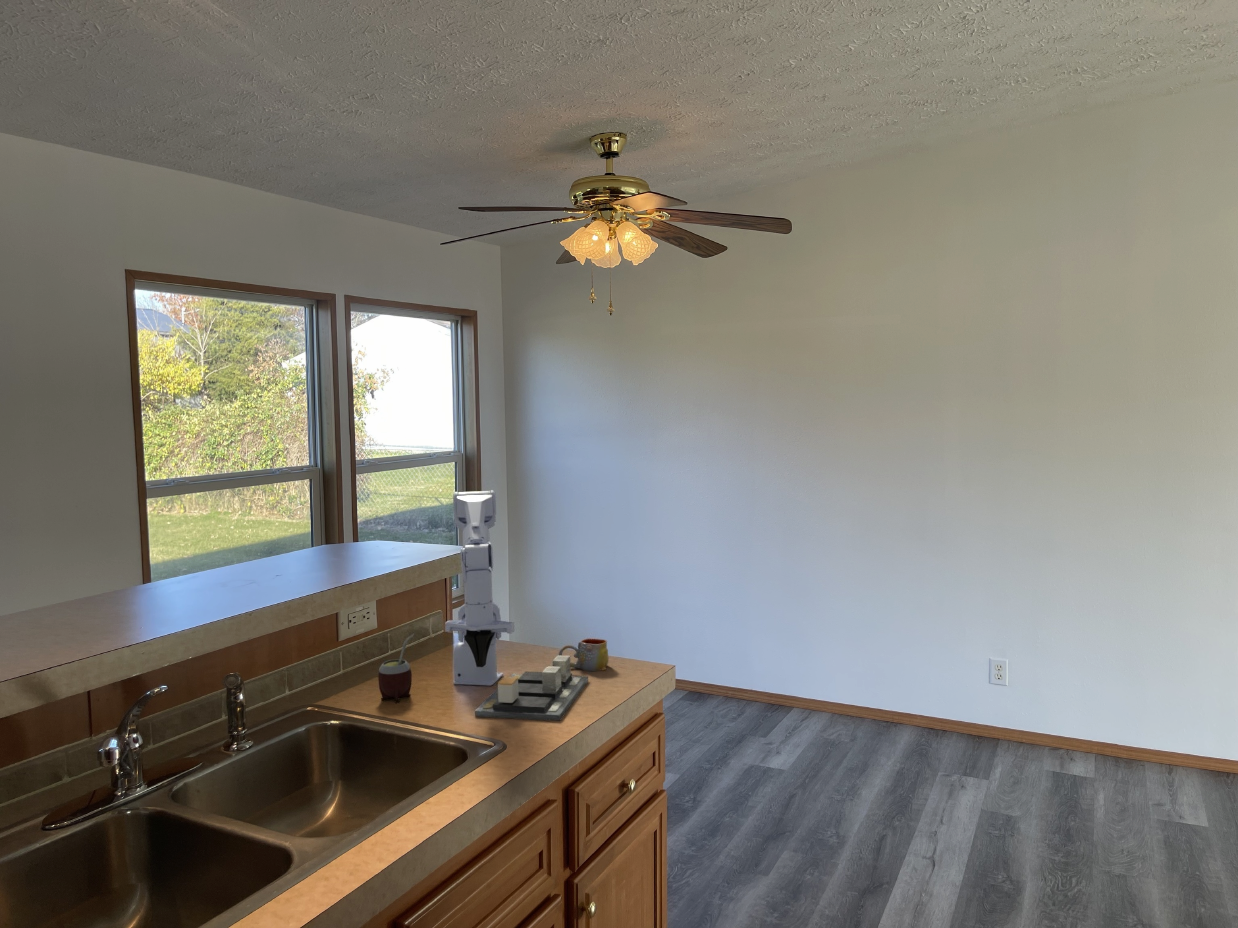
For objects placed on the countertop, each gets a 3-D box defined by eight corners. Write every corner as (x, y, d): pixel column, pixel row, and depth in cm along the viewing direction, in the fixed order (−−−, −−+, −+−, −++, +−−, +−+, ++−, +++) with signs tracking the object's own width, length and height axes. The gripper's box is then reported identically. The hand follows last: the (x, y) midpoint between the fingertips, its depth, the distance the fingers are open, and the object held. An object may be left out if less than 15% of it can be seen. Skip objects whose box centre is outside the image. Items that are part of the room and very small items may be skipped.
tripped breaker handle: (498, 702, 171) (497, 683, 170) (504, 695, 175) (504, 676, 174) (512, 702, 170) (511, 683, 170) (518, 695, 174) (517, 677, 174)
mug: (608, 662, 203) (607, 636, 203) (609, 671, 197) (608, 643, 196) (559, 664, 203) (558, 638, 203) (558, 673, 196) (557, 645, 196)
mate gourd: (378, 695, 184) (375, 629, 183) (414, 690, 187) (411, 625, 186) (380, 706, 177) (377, 637, 176) (418, 701, 180) (415, 633, 179)
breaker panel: (474, 716, 170) (473, 685, 169) (513, 678, 193) (512, 651, 193) (559, 720, 166) (558, 689, 166) (588, 681, 190) (587, 653, 189)
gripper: (438, 605, 170) (440, 670, 171) (505, 606, 167) (508, 672, 168) (451, 597, 176) (454, 659, 177) (516, 598, 174) (518, 662, 175)
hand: (481, 665), depth 173 cm, fingers closed
